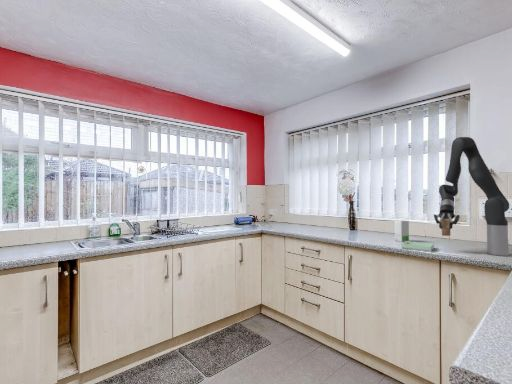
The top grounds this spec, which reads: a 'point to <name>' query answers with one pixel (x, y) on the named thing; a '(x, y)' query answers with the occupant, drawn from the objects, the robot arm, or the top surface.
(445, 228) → the block
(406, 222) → the skincare box
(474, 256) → the top surface
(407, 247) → the pale green tray
